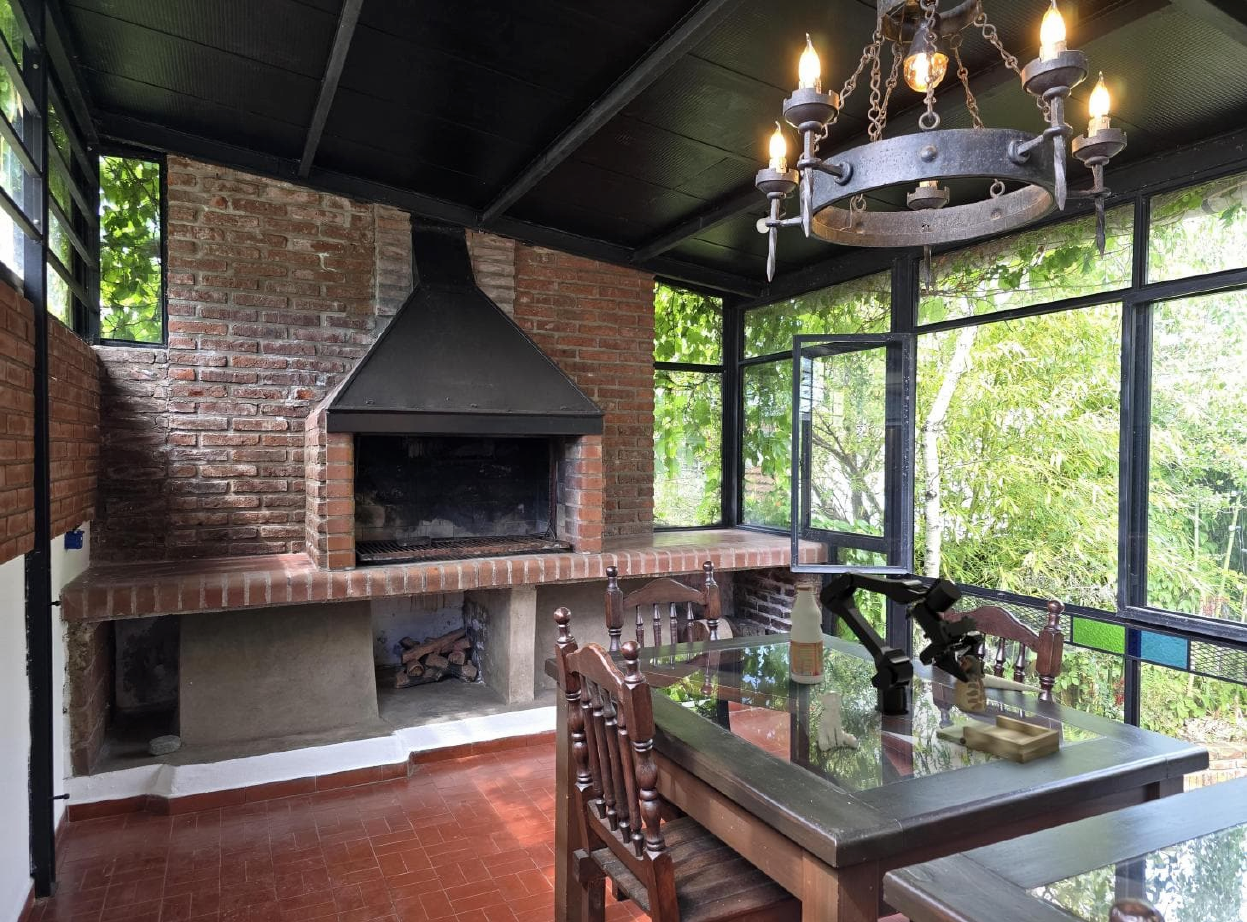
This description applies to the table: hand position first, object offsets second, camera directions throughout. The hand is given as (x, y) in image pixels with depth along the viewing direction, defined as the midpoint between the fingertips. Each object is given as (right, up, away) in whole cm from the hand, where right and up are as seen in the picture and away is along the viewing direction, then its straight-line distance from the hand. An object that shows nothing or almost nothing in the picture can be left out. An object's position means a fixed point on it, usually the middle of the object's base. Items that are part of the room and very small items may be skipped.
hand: (975, 679), depth 181 cm
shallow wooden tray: (+3, -13, -4) cm, 14 cm away
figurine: (-1, -7, +1) cm, 7 cm away
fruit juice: (-27, -14, +50) cm, 59 cm away
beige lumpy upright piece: (-34, -14, -2) cm, 37 cm away
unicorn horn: (+23, -13, +39) cm, 47 cm away
